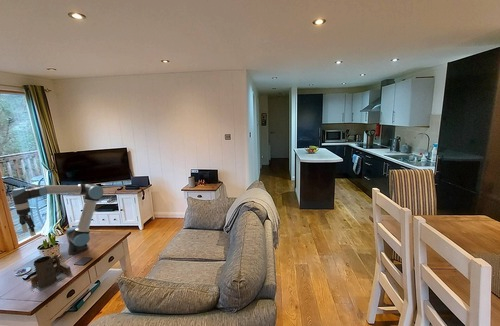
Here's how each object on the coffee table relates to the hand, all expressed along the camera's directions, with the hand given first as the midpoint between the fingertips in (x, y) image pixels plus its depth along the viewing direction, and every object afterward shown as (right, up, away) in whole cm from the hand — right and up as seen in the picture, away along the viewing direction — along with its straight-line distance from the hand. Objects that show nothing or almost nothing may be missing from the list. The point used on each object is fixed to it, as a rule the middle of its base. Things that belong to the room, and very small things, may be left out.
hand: (29, 233), depth 180 cm
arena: (+18, -35, 0) cm, 39 cm away
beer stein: (+19, -35, -3) cm, 40 cm away
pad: (+19, -35, -3) cm, 40 cm away
